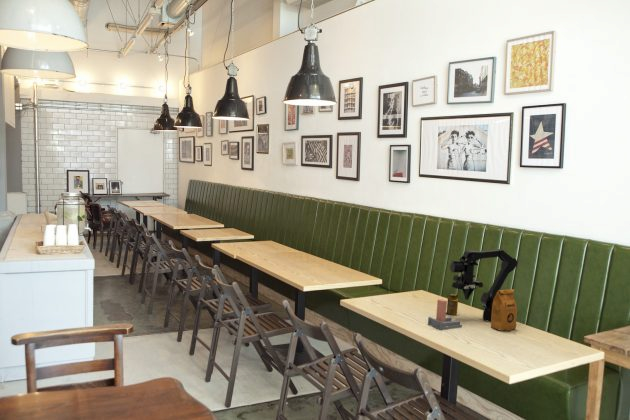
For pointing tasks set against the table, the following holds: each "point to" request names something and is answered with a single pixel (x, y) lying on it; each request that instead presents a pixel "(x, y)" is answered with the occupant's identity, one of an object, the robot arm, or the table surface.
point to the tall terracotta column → (441, 310)
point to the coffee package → (504, 311)
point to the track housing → (443, 326)
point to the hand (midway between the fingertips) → (466, 299)
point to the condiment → (452, 305)
